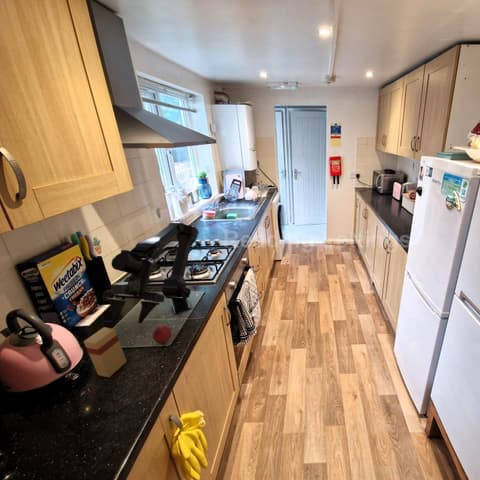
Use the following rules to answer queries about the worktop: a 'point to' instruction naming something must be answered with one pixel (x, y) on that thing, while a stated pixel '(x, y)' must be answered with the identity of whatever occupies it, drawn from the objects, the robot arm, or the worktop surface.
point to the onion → (161, 334)
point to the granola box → (105, 351)
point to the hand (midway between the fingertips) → (126, 322)
